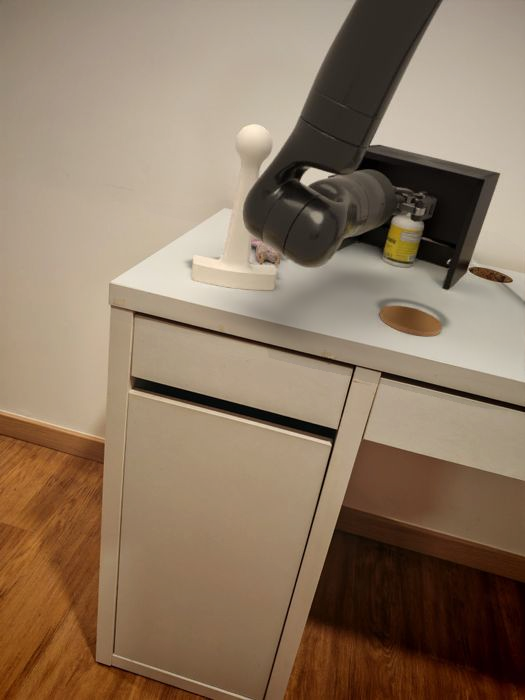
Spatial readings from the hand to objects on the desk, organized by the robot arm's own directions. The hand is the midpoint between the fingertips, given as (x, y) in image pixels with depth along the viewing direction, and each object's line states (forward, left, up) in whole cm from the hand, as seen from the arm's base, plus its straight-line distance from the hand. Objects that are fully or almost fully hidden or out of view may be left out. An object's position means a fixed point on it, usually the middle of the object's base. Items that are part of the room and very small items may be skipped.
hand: (395, 191), depth 85 cm
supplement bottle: (-7, -9, -13) cm, 17 cm away
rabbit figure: (+17, -5, -13) cm, 22 cm away
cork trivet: (-1, +17, -13) cm, 21 cm away
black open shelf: (-7, -9, -13) cm, 17 cm away
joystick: (+22, +9, -13) cm, 28 cm away
